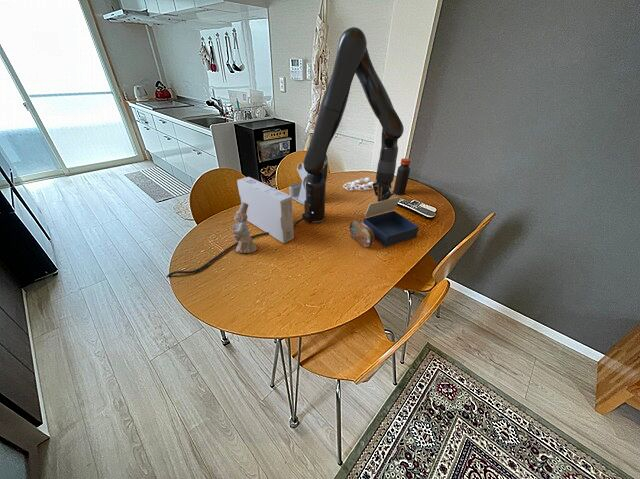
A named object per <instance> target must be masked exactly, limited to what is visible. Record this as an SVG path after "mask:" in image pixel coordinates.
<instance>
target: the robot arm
mask: <svg viewBox="0 0 640 479" xmlns="http://www.w3.org/2000/svg"><path fill="white" fill-rule="evenodd" d="M367 45H368V42H367V37H366V35H365V33H364V31H363V30H362V29H361V28H359V27H356V26H351V27H349V28H347V29H345V30H344V31H343V32H342V34H341V35H340V37H339V39H338V44H337V52H336V56H335V61H334V66H333V69H332V73H331V76H330V79H329V81H328V83H327V86H326V88H325V90H324V94H323V96H322V99H321V102H320V105H319V109H318V111H317V117H316V121H315V124H314V128H313V132H312V137H311V140H310V143H309V145H308V149H307V151H306V153H305V156H304V158H303V162H302V163H303V165H304V169H305V170H306V172H307V173H308V174H307V178H306V200H305V201H304V205H303V206H304V207H303V208H304V212H303V213H301V219H299V220H297V221H296V222H295V223H294V224H293V228H295V227H296V226H297V225H298V224H299V223H300V222H302V221H305V222H307V223H309V224H319V223H322V222H324V221H325V220H326V191H327V190H326V189H327V179H328V167H329V159H328V154H327V153H328V149H329V146H330V144H331V142H332V140H333V139H334V136H335V135H336V133H337V131H338V129H339V126H340V124H341V121H342V119H343V116H344V114H345V111H346V107H347V103H348V100H349V97H350V96H349V95H350V90H351V86H352V83H353V80H354V77H355V75H356V77H357V79H358V81H359V83H360V86H361V88H362V90H363V92H364V95H365V98H366V100H367V102H368V104H369V106H370V108H371V110H372V112H373V114H374V115H375V117H376V118H377V119H378V121H379V124H380V126H381V144H380V145H381V146H380V151H379V157H378V162H377V168H376V174H375V180H376V181H375V182H374V183H373V184H372V185H373V188H372V189H373V191H374V195H375V196H376V197H377V202H380V201H384V200H388V199H391V197H392V196H394V194H395V193H394V190H393V191H392V184H393V182H394V179H395V172H396V168H397V159H398V153H399V146H398V140H399V139H400V138H401V137H402V136H403V134H404V125H403V122H402V120H401V118H400V116H399V115H398V113H397V111H396V110H395V107H394V105H393V103H392V101H391V98H390V96H389V94H388V92H387V89H386V88H385V85H384V84H383V82H382V80H381V79H380V77H379V75H378V73H377V71H376V69H375V67H374V65H373V62H372V60H371V57H370V54H369V50H368V47H367ZM264 235H270V234H269V232H261V233H256V234H254V235H251V236H250V235H249V236H250V238H252V239H253V238H256V237H259V236H264ZM238 243H239V241H238V242H235V243H234V244H232V245H230V246H229V247H227V248H225V249H224V250H223V251H221V252H220V253H219V254H217V255H216V256H214V257H213V258H211V259H210V260H209V261H207V262H206V263H205V264H203V265H202V266H200V267H198V268H196V269H193V270H174V271H171V272H169V273H168V274H167V275H166V276H165V277H166V278H167V279H168V278H170V277H171V276H172V275H174V274H193V273H196V272H199V271H200V270H203V269H205V268H206V267H207V266H208V265H210V264H211V263H213V262H214V261H215V260H217V259H218V258H220V257H221V256H222V255H224V254H225V253H227V252H228V251H230V250H231V249H233V248H234V247H237V245H238Z"/></svg>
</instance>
